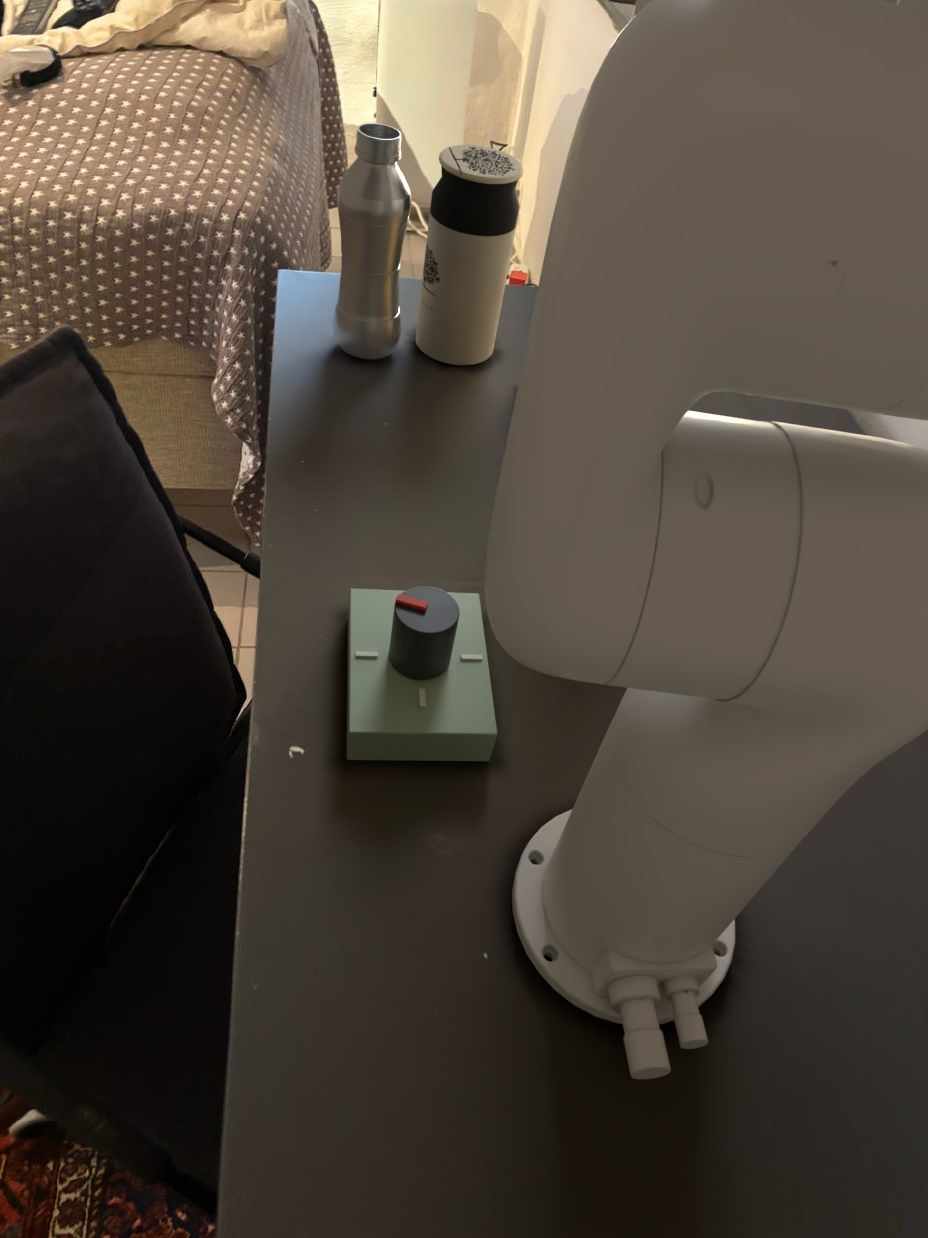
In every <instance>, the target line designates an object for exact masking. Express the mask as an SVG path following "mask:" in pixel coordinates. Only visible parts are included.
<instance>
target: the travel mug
mask: <svg viewBox="0 0 928 1238" xmlns="http://www.w3.org/2000/svg"><path fill="white" fill-rule="evenodd" d="M438 162H439V164H440V167H441V177H440V178H439V180H438V182H437V183H436V184H435V186H434V187H433V189H432V191H431V198H430V207H429V216H428V225H427V234H426V242H425V251H424V252H425V253H424V260H423V268H422V269H423V270H422V279H421V285H420V295H419V304H418V313H417V322H416V331H415V343H416V346H417V347H418V349H419V350H420V351H421V352H422V353H423V354H424V355H426V356H427V357H430V358H431V359H433V360H436V361H438V362H441V363H445V364H448V365H452V366H453V365H455V366H470V365H476V364H480V363H483V362H485V361H487V360H488V359H490V357H491V356H492V355H493V353H494V347H495V344H496V343H495V342H496V338H497V331H498V326H499V321H500V315H501V310H502V306H503V305H502V304H503V301H504V294H505V289H506V284H507V278H508V273H509V267H510V261H511V256H512V251H513V246H514V241H515V235H516V231H517V224H518V219H519V213H520V205H521V204H520V202H519V198H518V195H517V191H516V188H517V185H518V182H519V180H520V179H521V178H522V176H523V175H524V167H523V164H522V163H521V162H520V160H519V159H517V158H516V157H514V156H513V155H512V154H509V153H507V152H505V151H502V150H499V149H497V148H493V147H488V146H483V145H476V144H475V145H474V144H457V145H456V144H455V145H452V146H448V147H446V148H444V149H443V150H441V151H440V153H439V155H438Z"/></svg>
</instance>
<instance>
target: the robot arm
mask: <svg viewBox="0 0 928 1238" xmlns="http://www.w3.org/2000/svg"><path fill="white" fill-rule="evenodd" d="M572 135H573V136H572V139H571V142H570V145H569V148H568V152H567V154H566V155H567V156H566V160H565V165H564V168H563V172H562V177H561V180H560V184H559V189H558V193H557V196H556V201H555V204H554V210H553V214H552V218H551V222H550V227H549V231H548V237H547V241H546V246H545V252H544V257H543V262H542V266H541V270H540V276H539V281H538V286H537V291H536V297H535V301H534V306H533V309H532V310H533V311H532V316H531V321H530V324H529V325H530V326H529V331H528V335H527V339H526V340H527V341H526V345H525V350H524V355H523V360H522V365H521V370H520V375H519V380H518V385H517V389H516V394H515V400H514V405H513V410H512V413H511V419H510V424H509V429H508V433H507V439H506V444H505V449H504V453H503V458H502V464H501V468H500V472H499V473H500V474H499V478H498V482H497V487H496V492H495V498H494V503H493V510H492V516H491V521H490V526H489V531H488V537H487V544H486V554H485V563H484V600H485V602H484V603H485V608H486V614H487V618H488V620H489V621H488V622H489V625H490V628H491V630H492V632H493V634H494V636H495V638H496V640H497V642H498V643H499V645H500V646H501V647H502V648H503V650H504V651H505V652H506V653H507V654H508V655H509V656H510V657H512V658H513V660H515V661H517V663H519V664H522V665H523V666H525V667H527V668H529V669H531V670H533V671H535V672H538V673H541V674H543V675H544V674H545V675H547V676H551V677H556V678H561V679H565V680H566V679H567V680H572V681H576V682H583V683H588V684H589V683H590V684H596V685H602V686H608V687H609V686H611V687H616V688H625V689H626V690H625V692H624V694H623V696H622V698H621V700H620V703H619V705H618V707H617V709H616V711H615V714H614V716H613V718H612V719H611V722H610V724H609V726H608V729H607V731H606V733H605V735H604V738H603V740H602V741H601V744H600V746H599V748H598V750H597V754H596V755H595V758H594V760H593V761H592V764H591V766H590V769H589V771H588V774H587V775H586V778H585V780H584V782H583V785H582V786H581V789H580V791H579V793H578V796H577V798H576V800H575V803H574V805H573V807H572V808H571V809H569V810H567V811H564V812H563V813H561V814H559V815H556V816H554V817H553V818H552V819H550V820H549V821H548V822H546V823H544V825H542V826H541V827H540V828H539V829H538V831H536V833H535V834H534V835H533V836H532V837H531V839H530V840H529V841H528V843H527V844H526V846H525V848H524V850H523V851H522V854H521V856H520V858H519V861H518V863H517V866H516V869H515V873H514V879H513V884H512V888H511V889H512V890H511V899H512V900H511V901H512V902H511V903H512V915H513V919H514V924H515V928H516V932H517V935H518V938H519V940H520V943H521V945H522V946H523V950H524V951H525V954H526V955H527V957H528V959H529V960H530V961H531V964H533V967H534V968H535V969H536V971H537V972H538V974H539V975H540V976H541V977H542V978H543V979H544V980H545V981H546V982H547V984H548V985H549V986H550V987H551V988H552V989H553V990H554V991H555V992H556V993H558V994H559V995H560V996H561V997H563V998H564V999H565V1000H567V1001H568V1002H569V1003H571V1004H572V1005H573V1006H574V1007H576V1008H579V1009H580V1010H582V1011H584V1012H586V1013H587V1014H590V1015H592V1016H593V1017H596V1018H599V1019H602V1020H604V1021H605V1020H606V1021H609V1022H612V1023H615V1024H620V1025H622V1026H623V1027H622V1028H623V1033H624V1036H623V1037H622V1040H623V1044H624V1049H625V1055H626V1059H627V1064H628V1070H629V1075H630V1077H631V1078H632V1079H634V1080H653V1079H658V1078H661V1077H664V1076H667V1075H669V1074H670V1073H671V1071H672V1068H671V1064H670V1059H669V1055H668V1050H667V1047H666V1042H665V1041H666V1040H665V1037H664V1033H663V1030H662V1029H660V1025H663V1024H667V1023H669V1022H673V1023H674V1027H675V1030H676V1034H677V1039H678V1044H679V1048H681V1049H683V1050H693V1049H699V1048H702V1047H705V1046H707V1045H708V1044H709V1039H708V1035H707V1031H706V1028H705V1023H704V1020H703V1019H704V1018H703V1016H702V1014H700V1009H699V1008H700V1007H701V1006H702V1005H703V1004H704V1003H705V1002H706V1001H707V1000H708V999H709V998H710V997H711V996H712V995H713V994H714V993H715V992H716V990H717V989H718V988H719V986H720V984H722V982H723V981H724V979H725V977H726V975H727V973H728V971H729V969H730V967H731V964H732V962H733V955H734V951H735V946H736V918H737V917H738V916H739V914H741V912H742V911H743V910H744V908H746V906H747V905H748V904H749V903H750V901H751V900H752V899H753V898H754V897H755V896H756V895H757V893H758V892H759V891H760V890H762V887H763V886H765V884H766V883H767V882H768V881H769V880H770V878H772V876H773V875H774V874H775V872H777V870H778V869H779V868H780V867H781V865H782V864H783V863H784V862H785V861H786V859H787V858H788V857H789V856H790V855H791V854H792V853H793V851H795V849H796V848H797V847H798V846H799V845H800V843H801V842H802V841H803V840H804V839H805V838H806V837H807V836H808V835H809V834H810V832H811V831H812V830H813V829H814V828H815V827H816V825H817V824H819V822H820V821H821V820H822V819H823V817H824V816H825V815H826V814H827V813H828V812H829V811H830V809H831V808H832V807H833V806H834V805H835V804H836V803H837V802H838V801H839V799H841V798H842V796H843V795H844V794H845V793H846V792H847V791H848V790H850V788H851V787H852V786H853V785H854V784H855V783H856V782H857V781H859V780H860V779H861V778H862V777H863V776H865V774H867V772H869V771H870V770H871V769H873V768H874V767H875V766H876V765H877V764H879V763H880V762H882V761H883V760H884V759H886V758H887V757H888V756H890V755H892V754H893V753H895V752H896V751H898V750H900V749H901V748H902V747H903V746H905V745H907V744H908V743H910V742H912V741H913V740H915V739H916V738H917V737H919V736H921V735H922V734H923V733H925V732H927V731H928V448H924V447H922V446H919V445H915V444H912V443H911V444H910V443H906V442H902V441H897V440H893V439H888V438H884V437H879V436H873V435H866V434H859V433H852V432H846V431H840V430H834V429H826V428H820V427H814V426H807V425H802V424H794V423H788V422H781V421H774V420H754V419H745V418H740V417H739V418H738V417H733V416H726V415H720V414H713V413H706V412H700V411H693V410H691V409H692V407H693V406H694V405H695V404H696V403H697V402H698V401H699V400H700V399H702V398H704V396H707V395H709V394H712V393H717V392H727V393H735V394H742V395H747V396H755V397H760V398H761V397H762V398H767V399H773V400H781V401H787V402H794V403H801V404H806V405H807V404H808V405H814V406H821V407H828V408H833V409H834V408H835V409H841V410H848V411H854V412H862V413H868V414H875V415H883V416H890V417H896V418H904V419H910V420H911V419H912V420H919V421H926V422H927V421H928V0H635V5H634V9H633V12H632V14H631V15H630V19H629V21H628V23H627V24H626V25H625V26H624V28H622V30H621V31H620V32H619V34H618V35H617V37H616V38H615V40H614V41H613V43H612V44H611V45H610V47H609V49H608V51H607V53H606V55H605V57H604V59H603V61H602V63H601V65H600V67H599V68H598V71H597V73H596V75H595V76H594V79H593V81H592V83H591V85H590V88H589V89H588V92H587V95H586V97H585V101H584V103H583V106H582V109H581V111H580V114H579V116H578V119H577V122H576V125H575V129H574V132H573V134H572ZM545 957H548V958H549V959H550V961H549V960H547V959H546V958H545Z"/></svg>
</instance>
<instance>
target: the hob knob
mask: <svg viewBox="0 0 928 1238" xmlns="http://www.w3.org/2000/svg"><path fill="white" fill-rule="evenodd" d="M403 591H404V592H403V593H401V594H398V596H397V598H396V602H395V606H394V614H393V622H392V631H391V639H390V647H389V659H390V662H391V664H392V666H393V667H394V668H395V669H396V670H397V671H398V672H399V673H400V674H402V675H403V676H406V677H408V678H411V679H415V680H429V679H433V678H436V677H438V676H440V675H441V674H442V673H444V672H445V671H446V669H447V668H448V666H449V664H450V660H451V655H452V650H453V645H454V640H455V635H456V630H457V625H458V620H459V615H460V611H459V606H458V604H457V602H456V601H455V599H454V598H453V597H452V596H451V595H450V594H448V593H447V591H445V590H443V589H441V588H439V587H434V586H429V585H418V586H412V587H410V588H408V589H406V590H403Z"/></svg>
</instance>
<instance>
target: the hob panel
mask: <svg viewBox="0 0 928 1238" xmlns="http://www.w3.org/2000/svg"><path fill="white" fill-rule="evenodd" d="M404 591H405V590H402V589H401V590H398V589H377V588H375V589H373V588H350V589H349V598H348V612H347V678H346V679H347V685H346V686H347V691H346V694H347V696H346V760H347V761H409V762H410V761H412V762H413V761H417V762H418V761H419V762H420V761H424V762H426V761H428V762H430V761H431V762H490V760H491V757H492V754H493V751H494V747H495V744H496V740H497V738H498V727H497V721H496V713H495V706H494V697H493V690H492V683H491V676H490V667H489V658H488V652H487V643H486V635H485V629H484V628H485V627H484V622H483V620H484V619H483V614H482V606H481V597H480V594H479V593H477V592H475V593H473V592H470V593H469V592H451V591H449V592H447V591H446V592H447V593H448V594H450V595H451V596H452V597H453V598H454V599H455V601H456V602H457V604H458V606H459V611H460V615H459V620H458V625H457V630H456V635H455V640H454V645H453V650H452V655H451V660H450V664H449V666H448V668H447V669H446V671H445V672H444V673H442V674H441V675H440V676H438V677H436V678H433V679H429V680H415V679H411V678H408V677H406V676H403V675H402V674H400V673H399V672H398V671H397V670H396V669H395V668H394V667H393V666H392V664H391V662H390V659H389V647H390V639H391V631H392V622H393V614H394V606H395V602H396V598H397V596H398V594H401V593H403V592H404Z"/></svg>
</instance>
